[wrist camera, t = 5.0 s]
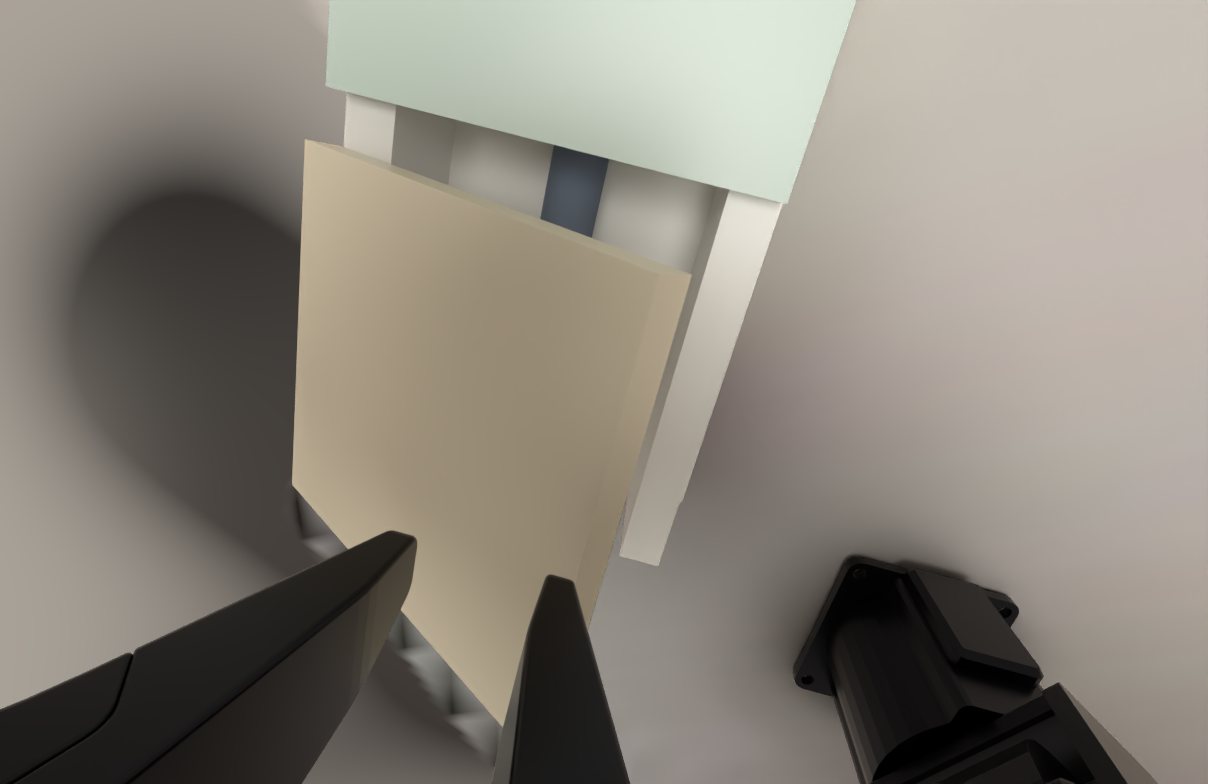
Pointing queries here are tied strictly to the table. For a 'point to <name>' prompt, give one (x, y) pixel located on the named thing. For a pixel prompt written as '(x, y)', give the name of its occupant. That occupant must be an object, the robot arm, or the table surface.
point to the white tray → (633, 223)
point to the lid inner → (471, 395)
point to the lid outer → (609, 75)
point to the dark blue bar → (574, 189)
